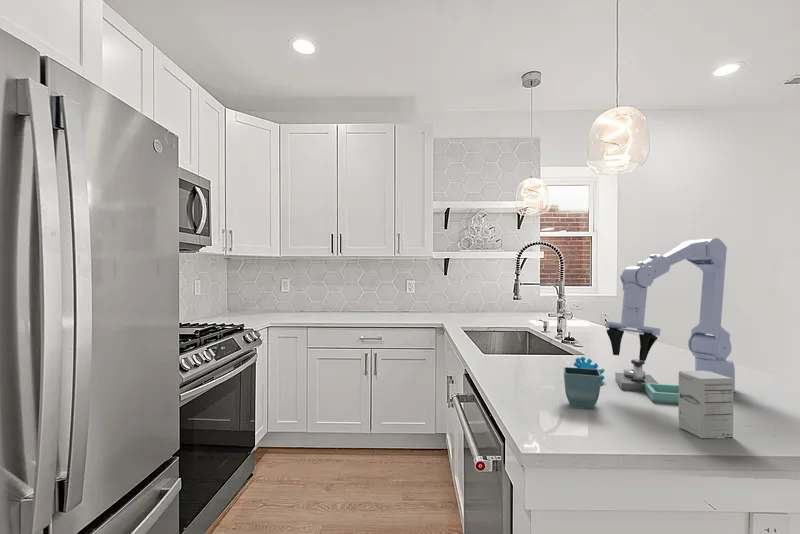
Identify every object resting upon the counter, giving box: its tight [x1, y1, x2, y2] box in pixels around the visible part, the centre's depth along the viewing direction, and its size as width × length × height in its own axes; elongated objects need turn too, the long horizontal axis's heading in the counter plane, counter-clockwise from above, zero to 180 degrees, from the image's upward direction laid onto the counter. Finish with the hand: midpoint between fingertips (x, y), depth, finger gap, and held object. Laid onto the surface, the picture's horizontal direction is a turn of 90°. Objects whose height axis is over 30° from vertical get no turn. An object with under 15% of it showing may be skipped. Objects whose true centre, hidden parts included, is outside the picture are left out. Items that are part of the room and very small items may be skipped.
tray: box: [644, 383, 679, 405], centre depth 127 cm, size 14×11×2 cm
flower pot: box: [563, 366, 602, 410], centre depth 120 cm, size 9×9×9 cm
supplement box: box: [678, 370, 734, 439], centre depth 100 cm, size 7×7×13 cm
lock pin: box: [630, 359, 646, 382], centre depth 139 cm, size 4×4×8 cm
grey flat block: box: [614, 368, 659, 392], centre depth 142 cm, size 10×14×4 cm
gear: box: [573, 356, 606, 385], centre depth 146 cm, size 11×6×10 cm
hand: (628, 357), depth 130 cm, fingers open, 7 cm apart
